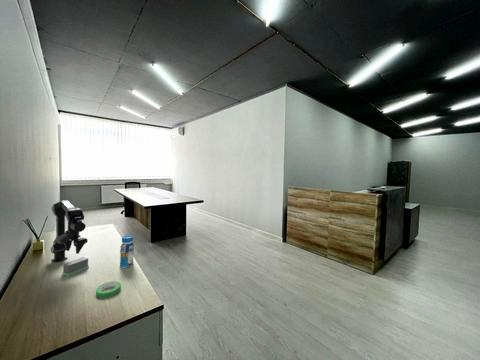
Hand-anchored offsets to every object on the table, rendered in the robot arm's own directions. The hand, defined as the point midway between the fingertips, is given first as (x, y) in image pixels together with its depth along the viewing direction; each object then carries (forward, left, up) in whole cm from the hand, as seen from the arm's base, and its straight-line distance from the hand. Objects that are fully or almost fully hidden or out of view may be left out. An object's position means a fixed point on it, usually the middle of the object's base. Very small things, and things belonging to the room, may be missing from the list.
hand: (72, 252), depth 125 cm
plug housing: (+3, 0, -10) cm, 11 cm away
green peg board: (+3, 0, -12) cm, 12 cm away
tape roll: (+41, -6, -12) cm, 44 cm away
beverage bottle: (+24, +19, -12) cm, 33 cm away
